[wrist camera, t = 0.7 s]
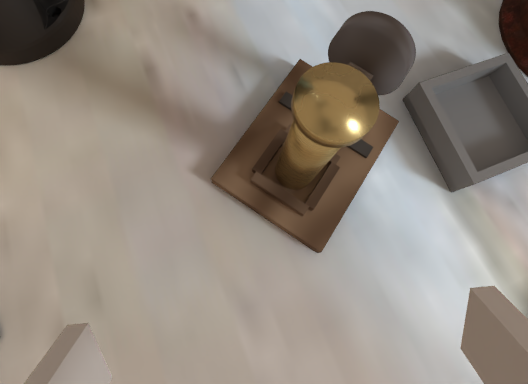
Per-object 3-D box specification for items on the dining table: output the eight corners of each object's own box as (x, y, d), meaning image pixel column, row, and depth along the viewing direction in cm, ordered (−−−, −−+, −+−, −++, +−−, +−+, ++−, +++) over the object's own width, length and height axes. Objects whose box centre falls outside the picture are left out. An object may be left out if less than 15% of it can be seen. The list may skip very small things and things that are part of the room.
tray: (402, 99, 37) (419, 82, 34) (485, 71, 39) (508, 52, 36) (451, 192, 35) (474, 184, 32) (536, 157, 37) (566, 146, 34)
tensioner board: (212, 182, 33) (198, 132, 21) (297, 67, 37) (327, -31, 25) (317, 252, 32) (367, 243, 20) (392, 127, 36) (471, 56, 24)
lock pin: (261, 156, 32) (280, 76, 19) (307, 140, 33) (357, 52, 20) (280, 202, 31) (315, 153, 18) (327, 185, 32) (393, 125, 19)
